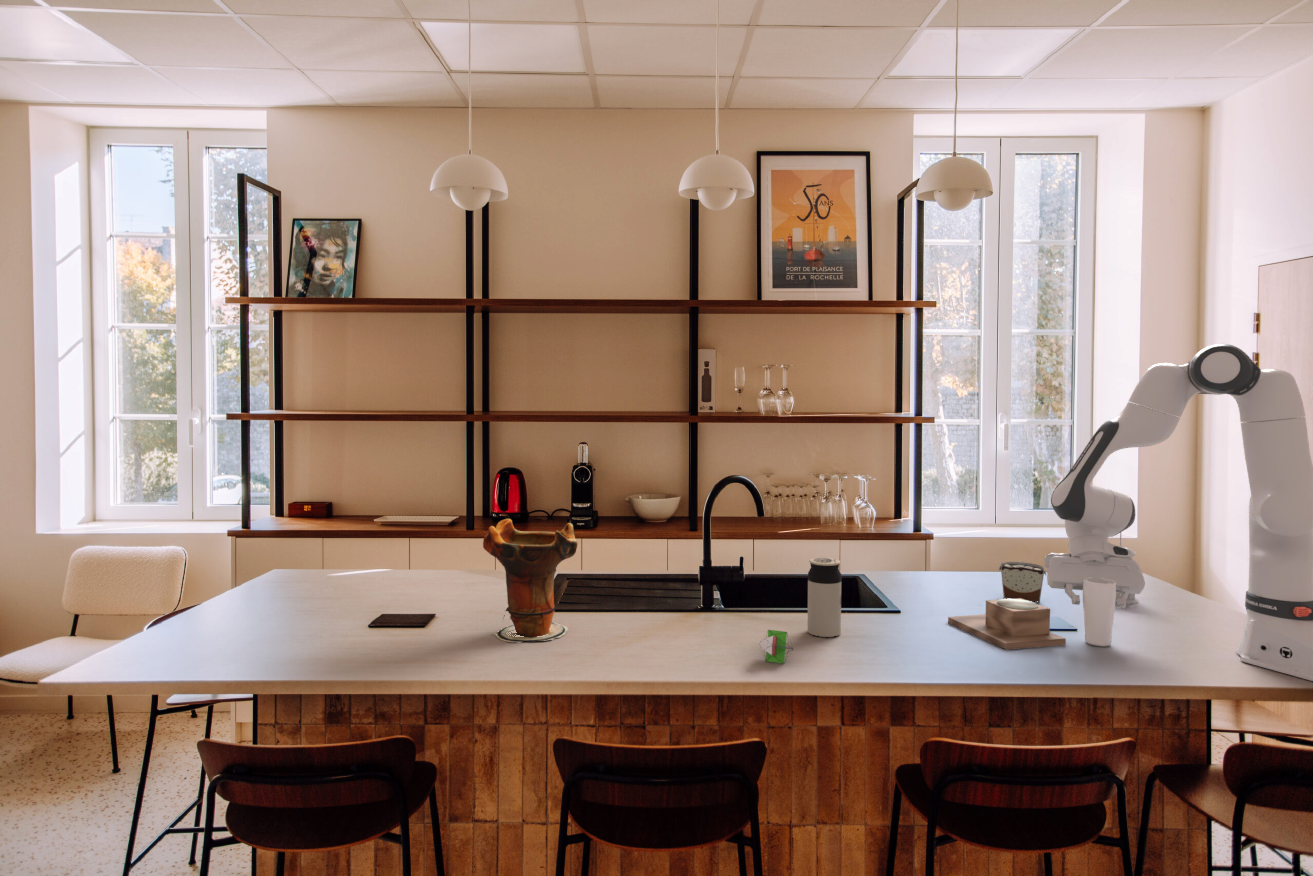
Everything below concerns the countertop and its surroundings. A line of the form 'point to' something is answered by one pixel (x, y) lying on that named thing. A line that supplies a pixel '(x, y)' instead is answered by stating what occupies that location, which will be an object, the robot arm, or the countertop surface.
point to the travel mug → (824, 597)
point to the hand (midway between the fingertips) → (1098, 605)
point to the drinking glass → (1099, 611)
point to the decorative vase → (530, 577)
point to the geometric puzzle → (775, 646)
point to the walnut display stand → (1011, 624)
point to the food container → (1022, 580)
